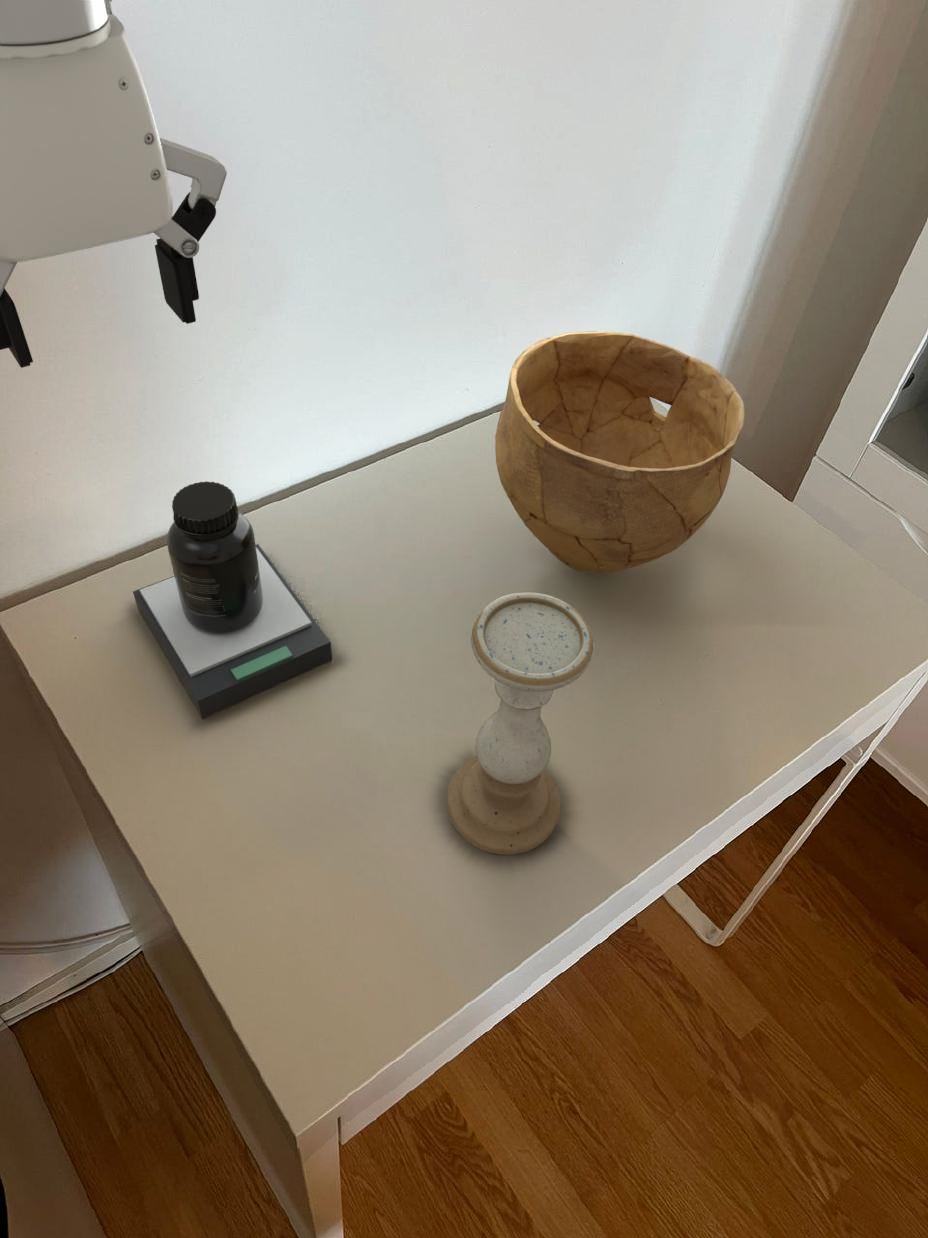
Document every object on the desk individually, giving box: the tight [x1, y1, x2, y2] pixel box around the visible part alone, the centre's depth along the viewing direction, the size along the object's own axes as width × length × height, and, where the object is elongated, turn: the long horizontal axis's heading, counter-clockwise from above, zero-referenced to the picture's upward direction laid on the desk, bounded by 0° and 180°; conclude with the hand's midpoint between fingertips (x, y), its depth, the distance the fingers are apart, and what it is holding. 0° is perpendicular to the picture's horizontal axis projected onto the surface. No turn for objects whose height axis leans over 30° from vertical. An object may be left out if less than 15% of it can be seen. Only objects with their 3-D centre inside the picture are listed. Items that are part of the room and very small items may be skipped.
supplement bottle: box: [166, 481, 263, 633], centre depth 76 cm, size 7×7×12 cm
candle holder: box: [446, 591, 594, 855], centre depth 65 cm, size 9×9×20 cm
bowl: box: [494, 330, 745, 575], centre depth 83 cm, size 21×20×20 cm
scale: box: [132, 543, 333, 720], centre depth 81 cm, size 12×14×3 cm
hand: (103, 332), depth 55 cm, fingers open, 9 cm apart
